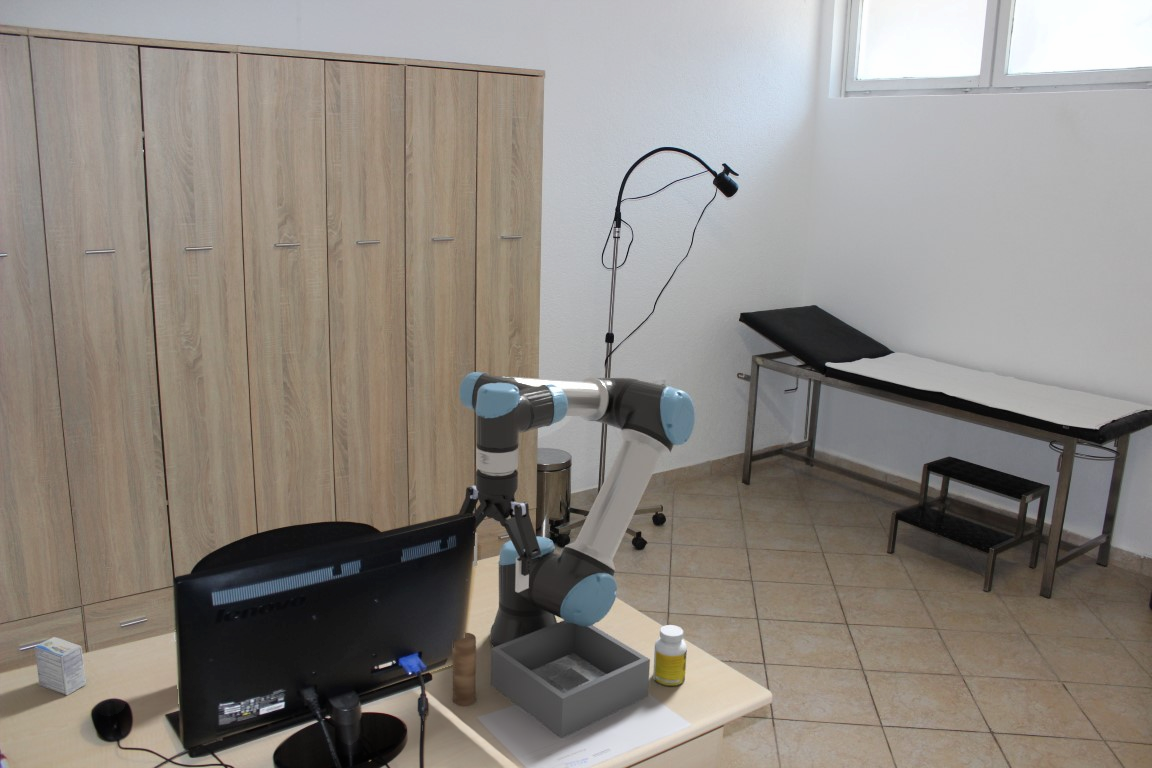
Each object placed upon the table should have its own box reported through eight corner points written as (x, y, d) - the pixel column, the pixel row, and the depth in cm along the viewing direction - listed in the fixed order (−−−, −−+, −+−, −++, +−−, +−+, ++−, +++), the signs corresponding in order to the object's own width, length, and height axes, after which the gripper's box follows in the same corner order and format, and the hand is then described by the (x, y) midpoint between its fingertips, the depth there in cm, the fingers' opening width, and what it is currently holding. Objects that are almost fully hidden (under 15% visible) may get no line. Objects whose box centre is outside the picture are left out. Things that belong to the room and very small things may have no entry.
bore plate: (519, 686, 185) (519, 675, 184) (572, 663, 193) (573, 652, 193) (564, 719, 174) (564, 707, 174) (619, 693, 183) (619, 682, 183)
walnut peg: (448, 702, 180) (447, 637, 177) (467, 695, 183) (467, 630, 180) (460, 713, 177) (460, 646, 174) (480, 705, 180) (480, 639, 176)
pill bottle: (683, 693, 186) (686, 640, 183) (650, 688, 187) (653, 636, 184) (686, 676, 192) (689, 624, 189) (654, 671, 193) (657, 620, 191)
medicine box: (87, 685, 182) (82, 645, 180) (66, 696, 178) (61, 656, 176) (59, 675, 185) (54, 635, 183) (38, 686, 182) (33, 645, 179)
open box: (490, 689, 185) (491, 648, 183) (574, 653, 199) (576, 615, 197) (561, 742, 169) (562, 698, 167) (647, 700, 183) (649, 659, 181)
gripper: (435, 457, 173) (435, 563, 178) (532, 492, 157) (530, 607, 162) (465, 449, 179) (465, 552, 184) (562, 481, 163) (559, 593, 168)
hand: (495, 578), depth 173 cm, fingers open, 13 cm apart
